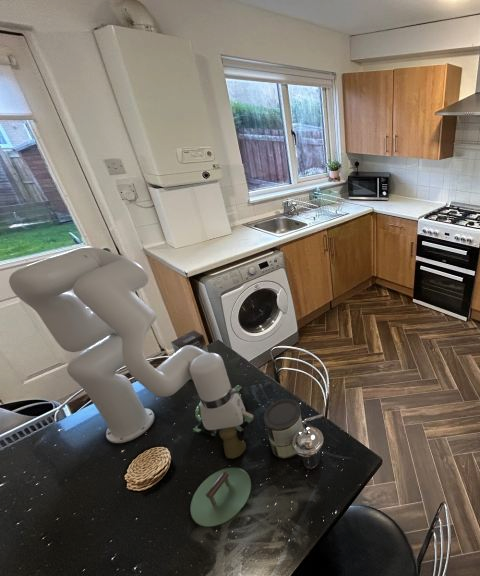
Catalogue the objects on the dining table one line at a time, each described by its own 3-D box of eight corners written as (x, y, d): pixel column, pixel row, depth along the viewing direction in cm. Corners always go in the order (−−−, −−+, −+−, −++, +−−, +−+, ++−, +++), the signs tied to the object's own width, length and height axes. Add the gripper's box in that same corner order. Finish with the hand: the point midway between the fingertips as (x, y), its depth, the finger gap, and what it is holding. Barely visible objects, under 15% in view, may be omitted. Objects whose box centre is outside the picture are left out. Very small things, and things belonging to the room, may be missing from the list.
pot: (183, 436, 98) (177, 423, 95) (227, 392, 114) (223, 379, 111) (218, 449, 95) (213, 435, 92) (258, 402, 110) (255, 389, 107)
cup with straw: (305, 445, 96) (297, 400, 86) (332, 453, 94) (327, 408, 84) (291, 472, 89) (281, 426, 79) (319, 481, 87) (313, 435, 77)
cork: (238, 461, 91) (230, 437, 86) (220, 457, 92) (211, 433, 87) (250, 443, 97) (243, 419, 91) (233, 439, 98) (225, 415, 92)
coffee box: (192, 380, 119) (179, 347, 111) (182, 374, 122) (169, 341, 114) (214, 366, 126) (203, 334, 118) (204, 360, 129) (193, 329, 121)
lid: (177, 516, 79) (169, 502, 76) (221, 463, 91) (215, 449, 88) (224, 537, 75) (218, 524, 72) (263, 479, 87) (258, 465, 84)
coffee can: (264, 453, 94) (255, 422, 87) (284, 425, 102) (278, 395, 96) (293, 464, 91) (286, 433, 84) (311, 434, 99) (307, 404, 93)
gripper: (252, 380, 88) (263, 422, 97) (186, 389, 85) (204, 432, 93) (248, 401, 81) (260, 444, 90) (176, 411, 78) (196, 455, 87)
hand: (231, 437), depth 92 cm, fingers closed on cork, 5 cm apart
